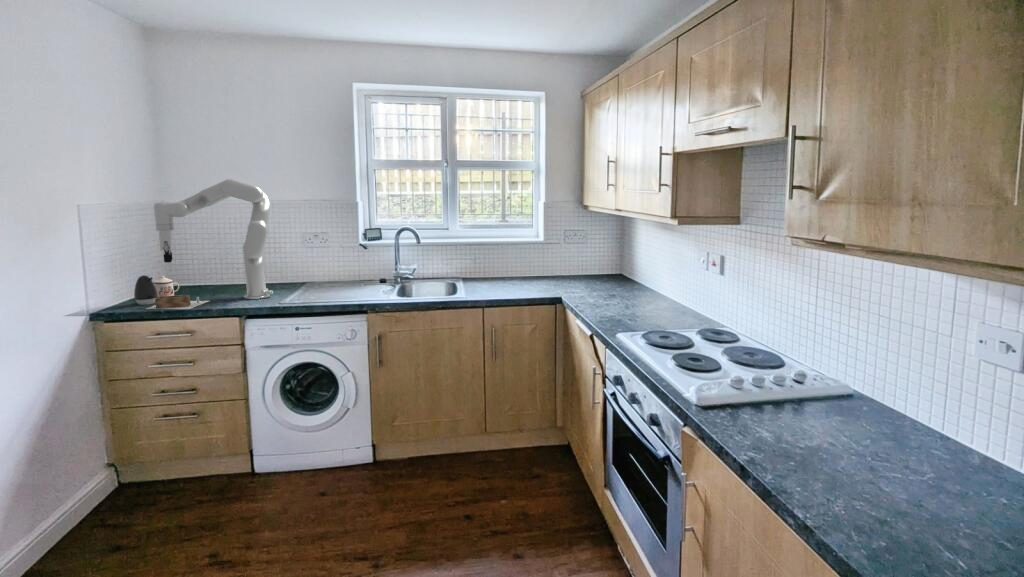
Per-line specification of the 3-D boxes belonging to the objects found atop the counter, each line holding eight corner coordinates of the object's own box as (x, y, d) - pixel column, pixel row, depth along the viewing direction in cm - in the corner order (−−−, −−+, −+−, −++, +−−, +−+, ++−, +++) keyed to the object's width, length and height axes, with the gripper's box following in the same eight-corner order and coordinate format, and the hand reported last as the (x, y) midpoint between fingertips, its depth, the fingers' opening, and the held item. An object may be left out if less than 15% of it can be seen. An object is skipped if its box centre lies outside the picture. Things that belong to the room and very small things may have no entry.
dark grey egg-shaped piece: (146, 307, 279) (142, 277, 276) (130, 306, 282) (126, 276, 279) (163, 303, 289) (160, 274, 286) (148, 301, 292) (144, 273, 289)
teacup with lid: (158, 299, 297) (156, 278, 294) (152, 297, 302) (150, 276, 300) (183, 296, 305) (180, 275, 303) (177, 294, 311) (174, 273, 309)
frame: (190, 304, 283) (189, 294, 282) (188, 306, 278) (187, 296, 277) (159, 306, 279) (158, 296, 278) (156, 308, 273) (154, 298, 272)
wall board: (210, 301, 292) (209, 295, 291) (189, 310, 273) (188, 303, 272) (168, 301, 292) (167, 295, 291) (145, 310, 273) (144, 302, 272)
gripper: (157, 226, 285) (160, 259, 288) (155, 228, 270) (158, 263, 273) (174, 225, 288) (177, 258, 291) (173, 228, 273) (176, 262, 277)
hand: (168, 261), depth 282 cm, fingers open, 9 cm apart
